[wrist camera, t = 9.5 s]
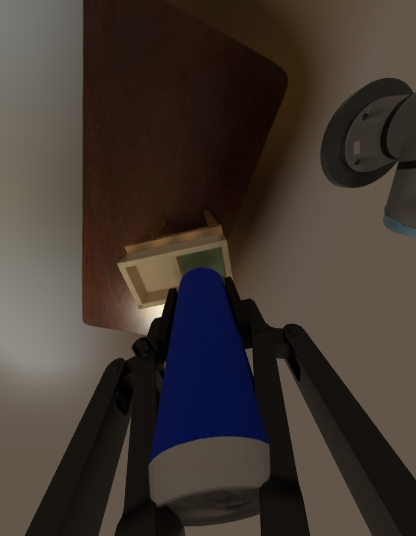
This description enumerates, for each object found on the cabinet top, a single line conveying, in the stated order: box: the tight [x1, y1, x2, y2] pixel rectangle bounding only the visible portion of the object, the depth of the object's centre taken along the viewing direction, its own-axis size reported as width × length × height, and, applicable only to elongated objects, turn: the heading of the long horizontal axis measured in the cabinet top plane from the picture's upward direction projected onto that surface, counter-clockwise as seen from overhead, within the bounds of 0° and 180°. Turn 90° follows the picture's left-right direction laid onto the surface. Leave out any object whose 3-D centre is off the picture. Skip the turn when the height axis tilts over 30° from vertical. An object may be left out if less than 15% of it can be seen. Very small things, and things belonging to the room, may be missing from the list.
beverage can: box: [148, 267, 270, 526], centre depth 12 cm, size 5×5×15 cm
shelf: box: [125, 209, 223, 253], centre depth 38 cm, size 15×10×26 cm, turn 102°
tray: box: [117, 233, 233, 309], centre depth 25 cm, size 15×8×4 cm, turn 102°
